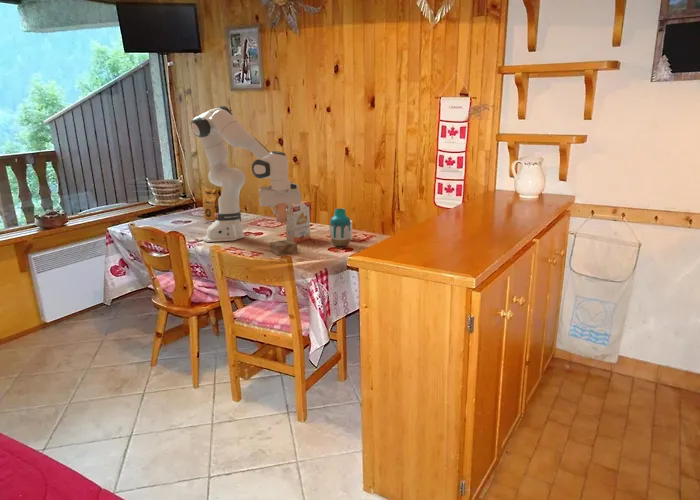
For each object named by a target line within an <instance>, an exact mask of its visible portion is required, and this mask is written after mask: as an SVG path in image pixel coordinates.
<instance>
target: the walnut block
mask: <svg viewBox="0 0 700 500" xmlns="http://www.w3.org/2000/svg"><path fill="white" fill-rule="evenodd" d="M269 245H270V252H271V253H273V254H274V255H276V256H283V255H284V256H285V255H291V254H298V243H295V242H293V241H291V240H287V239H284V240H277V241H271V242H269Z"/></svg>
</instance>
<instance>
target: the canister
mask: <svg viewBox="0 0 700 500" xmlns="http://www.w3.org/2000/svg"><path fill="white" fill-rule="evenodd" d="M275 211H277V215H275V217H276V218H275V220H276V223H286V222H287V208H286V204H285V203H283V202H280V204H278V205H276V206H275Z"/></svg>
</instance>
